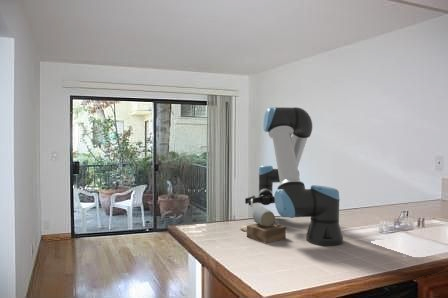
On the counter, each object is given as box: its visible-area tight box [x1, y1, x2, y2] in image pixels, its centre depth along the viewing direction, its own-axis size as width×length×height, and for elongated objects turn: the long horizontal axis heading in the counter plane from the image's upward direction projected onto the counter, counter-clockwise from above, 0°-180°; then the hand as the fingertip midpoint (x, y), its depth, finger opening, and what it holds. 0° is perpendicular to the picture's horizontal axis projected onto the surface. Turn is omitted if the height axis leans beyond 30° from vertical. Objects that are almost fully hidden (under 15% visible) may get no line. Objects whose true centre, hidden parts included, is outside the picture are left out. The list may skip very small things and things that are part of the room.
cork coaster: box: [240, 225, 248, 232], centre depth 174 cm, size 9×9×1 cm
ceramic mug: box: [252, 206, 279, 227], centre depth 161 cm, size 11×8×8 cm
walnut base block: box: [246, 223, 287, 244], centre depth 159 cm, size 12×12×5 cm
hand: (266, 204), depth 169 cm, fingers open, 13 cm apart
